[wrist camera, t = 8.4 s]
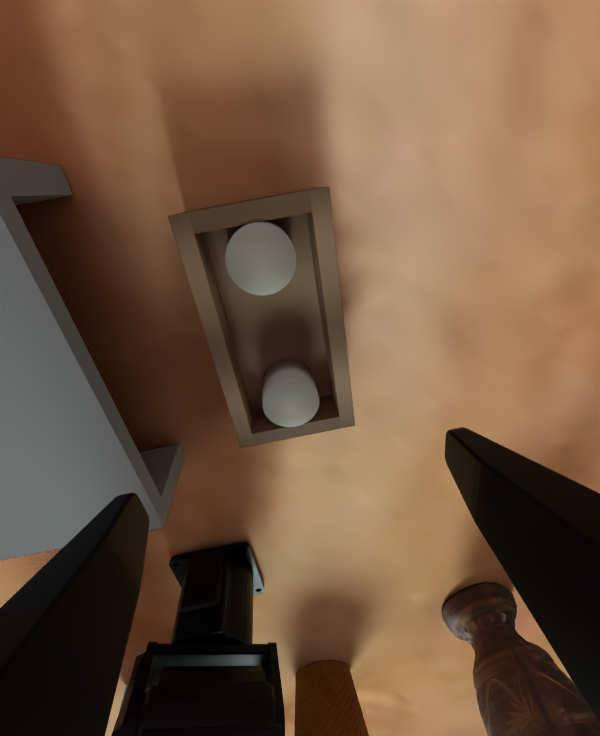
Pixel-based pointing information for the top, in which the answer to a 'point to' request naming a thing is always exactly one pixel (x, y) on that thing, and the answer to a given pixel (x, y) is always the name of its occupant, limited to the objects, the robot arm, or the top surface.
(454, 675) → the top surface
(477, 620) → the mortar and pestle
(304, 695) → the disposable coffee cup
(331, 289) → the walnut tray
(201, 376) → the top surface
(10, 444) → the grey shelf
